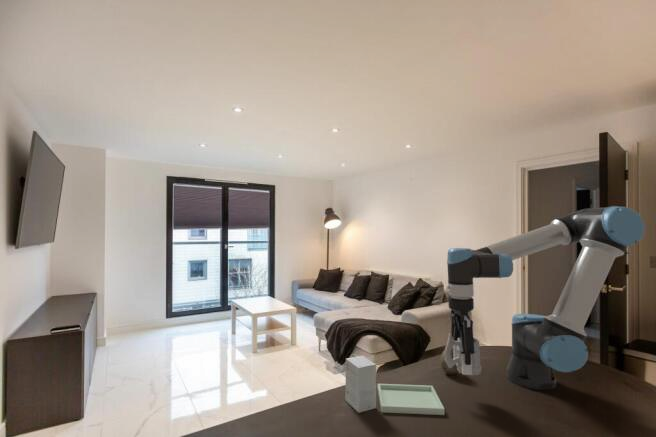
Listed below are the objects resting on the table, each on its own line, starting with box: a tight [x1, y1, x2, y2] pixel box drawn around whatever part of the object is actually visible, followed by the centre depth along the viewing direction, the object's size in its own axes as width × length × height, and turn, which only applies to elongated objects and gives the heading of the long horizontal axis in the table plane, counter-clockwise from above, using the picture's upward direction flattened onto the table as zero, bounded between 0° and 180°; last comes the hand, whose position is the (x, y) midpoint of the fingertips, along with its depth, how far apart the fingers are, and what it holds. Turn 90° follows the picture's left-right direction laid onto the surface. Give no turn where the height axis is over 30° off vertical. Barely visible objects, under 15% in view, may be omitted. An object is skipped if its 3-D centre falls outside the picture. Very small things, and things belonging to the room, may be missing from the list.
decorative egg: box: [440, 348, 459, 375], centre depth 125 cm, size 7×7×10 cm
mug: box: [444, 332, 483, 376], centre depth 108 cm, size 8×12×12 cm, turn 95°
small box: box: [344, 355, 377, 414], centre depth 103 cm, size 8×6×13 cm
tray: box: [376, 383, 446, 416], centre depth 105 cm, size 18×14×2 cm
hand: (462, 368), depth 108 cm, fingers closed on mug, 7 cm apart
